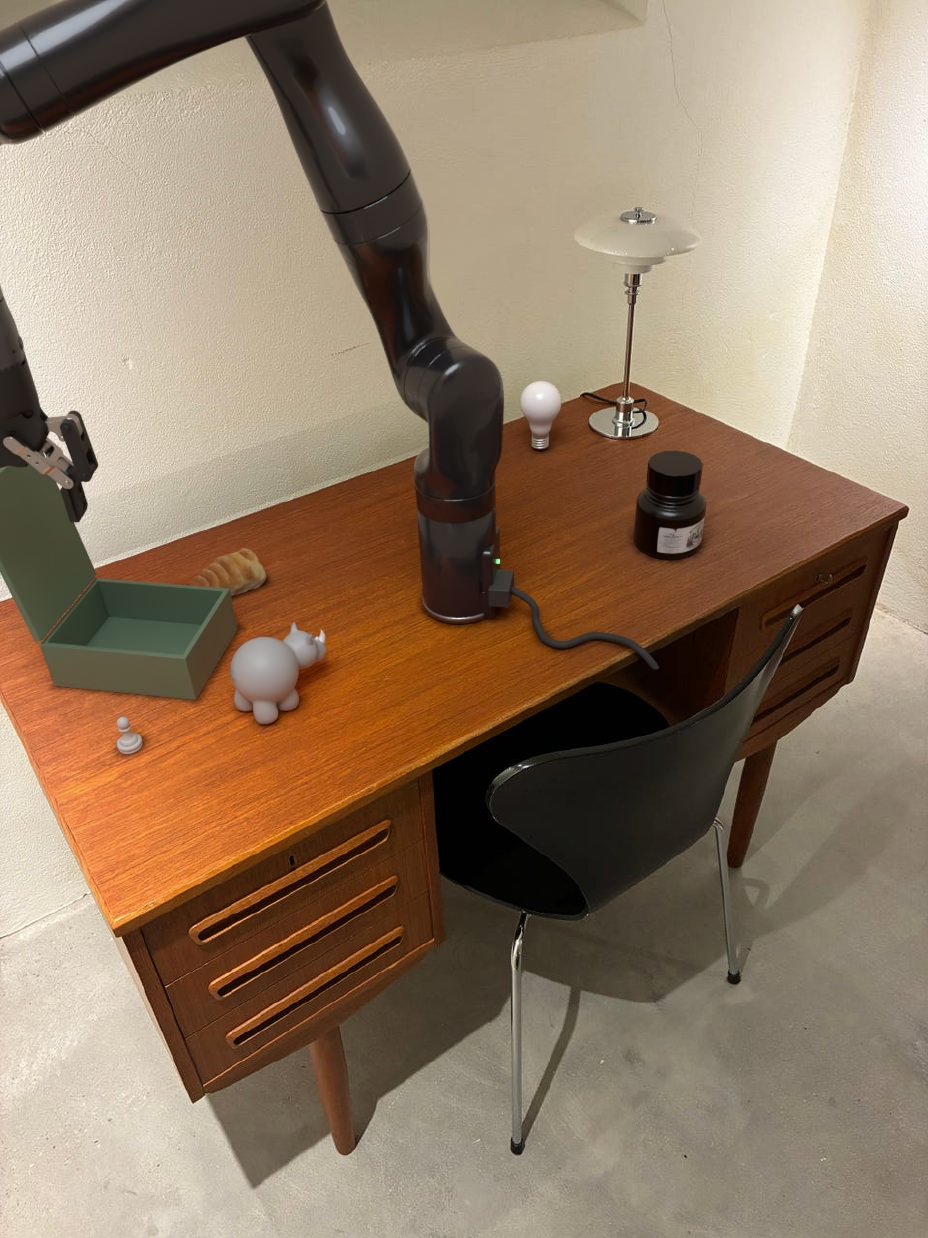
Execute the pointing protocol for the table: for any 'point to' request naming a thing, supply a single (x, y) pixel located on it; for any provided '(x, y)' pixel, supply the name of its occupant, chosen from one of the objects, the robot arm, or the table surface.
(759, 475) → the table surface
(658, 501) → the ink bottle
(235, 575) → the pastry
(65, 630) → the chess box
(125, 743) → the pawn
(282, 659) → the toy rhinoceros
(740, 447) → the table surface
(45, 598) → the box lid
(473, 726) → the table surface
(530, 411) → the lightbulb
